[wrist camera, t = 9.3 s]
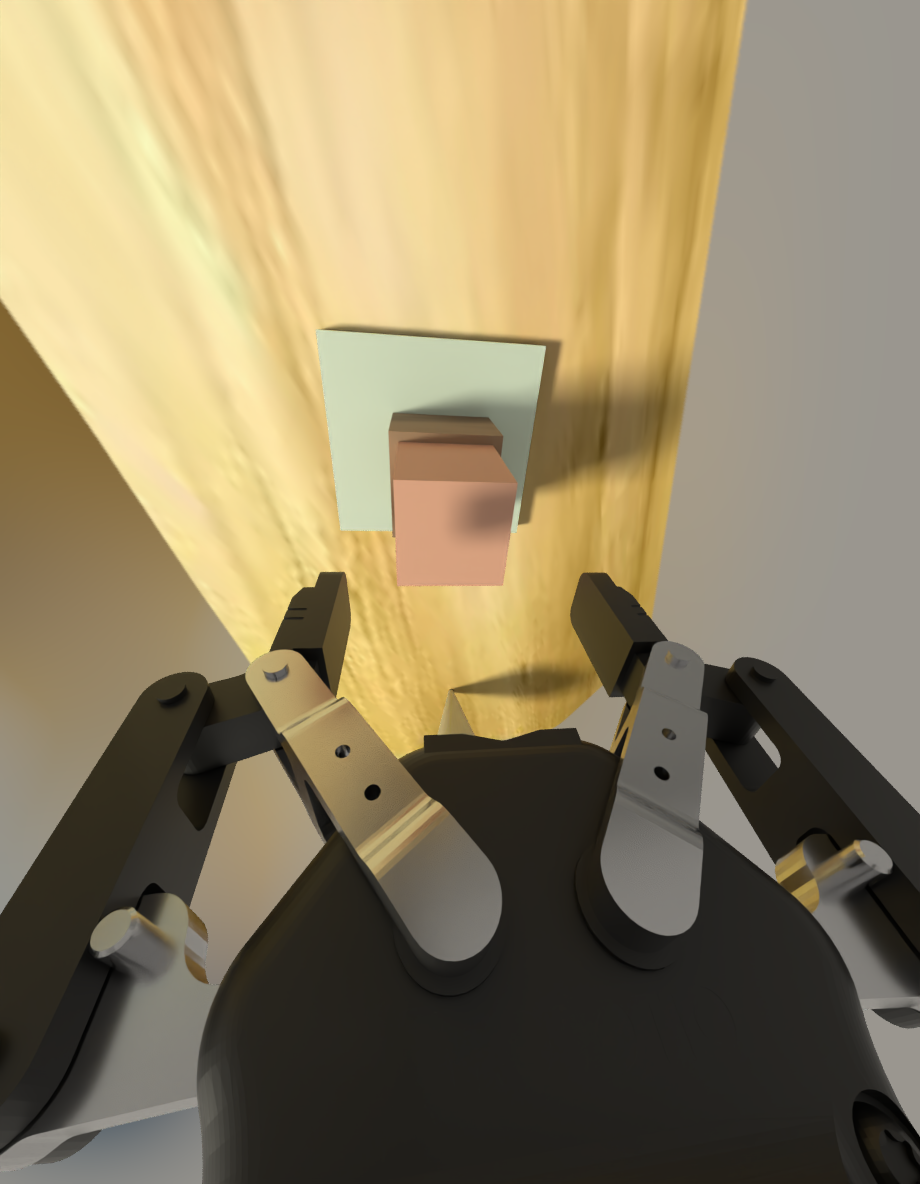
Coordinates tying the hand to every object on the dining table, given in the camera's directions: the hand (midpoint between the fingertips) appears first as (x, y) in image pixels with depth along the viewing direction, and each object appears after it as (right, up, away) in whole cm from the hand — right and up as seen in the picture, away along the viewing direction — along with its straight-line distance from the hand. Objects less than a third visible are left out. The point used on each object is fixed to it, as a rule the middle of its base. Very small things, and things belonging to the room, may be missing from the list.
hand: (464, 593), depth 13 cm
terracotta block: (-1, +6, +8) cm, 10 cm away
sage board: (-2, +10, +13) cm, 17 cm away
